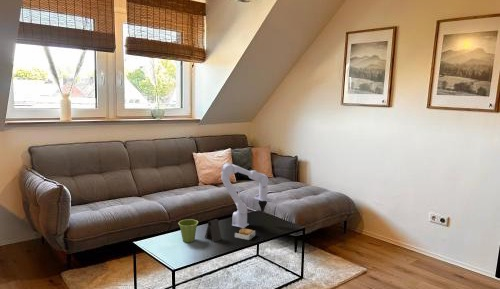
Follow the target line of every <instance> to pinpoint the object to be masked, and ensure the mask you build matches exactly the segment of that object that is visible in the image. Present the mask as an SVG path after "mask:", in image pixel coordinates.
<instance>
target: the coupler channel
mask: <svg viewBox="0 0 500 289" xmlns="http://www.w3.org/2000/svg"><path fill="white" fill-rule="evenodd" d="M241 229H242V228H240V229H239V230H241ZM255 236H256V230H253V231H252V232H251V233H250V234H248V235H245V234H240V233H239V232H238V233H237V232H234V238H236V239H242V240H247V241H250V240H252V239H253V238H254V237H255Z"/></svg>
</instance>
